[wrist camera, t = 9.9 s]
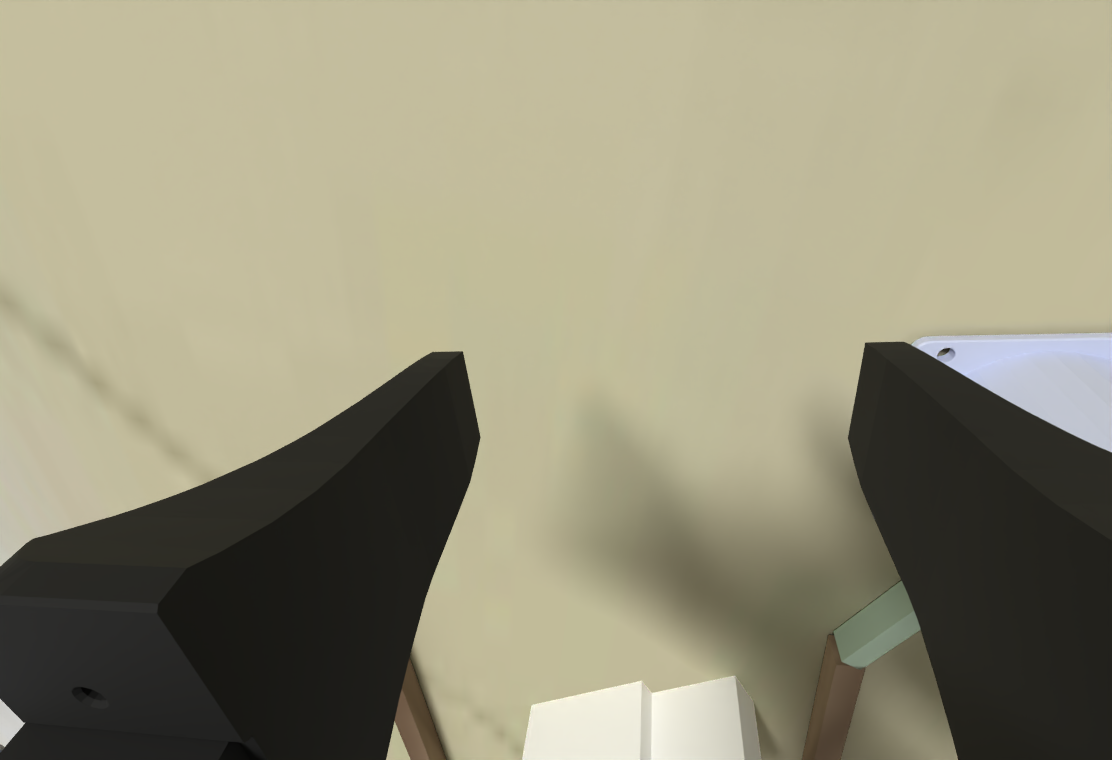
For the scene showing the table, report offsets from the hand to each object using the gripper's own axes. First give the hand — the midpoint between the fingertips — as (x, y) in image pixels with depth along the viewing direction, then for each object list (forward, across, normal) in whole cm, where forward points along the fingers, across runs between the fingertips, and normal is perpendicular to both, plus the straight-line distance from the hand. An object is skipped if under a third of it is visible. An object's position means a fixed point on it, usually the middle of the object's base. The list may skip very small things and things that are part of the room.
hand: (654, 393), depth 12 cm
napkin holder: (+10, +1, +26) cm, 28 cm away
